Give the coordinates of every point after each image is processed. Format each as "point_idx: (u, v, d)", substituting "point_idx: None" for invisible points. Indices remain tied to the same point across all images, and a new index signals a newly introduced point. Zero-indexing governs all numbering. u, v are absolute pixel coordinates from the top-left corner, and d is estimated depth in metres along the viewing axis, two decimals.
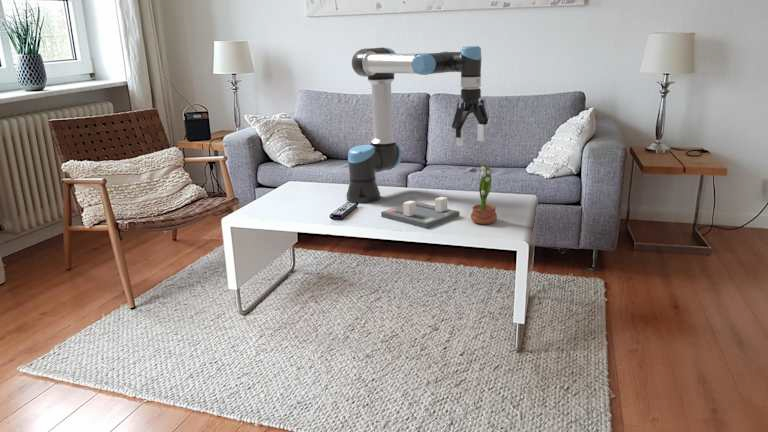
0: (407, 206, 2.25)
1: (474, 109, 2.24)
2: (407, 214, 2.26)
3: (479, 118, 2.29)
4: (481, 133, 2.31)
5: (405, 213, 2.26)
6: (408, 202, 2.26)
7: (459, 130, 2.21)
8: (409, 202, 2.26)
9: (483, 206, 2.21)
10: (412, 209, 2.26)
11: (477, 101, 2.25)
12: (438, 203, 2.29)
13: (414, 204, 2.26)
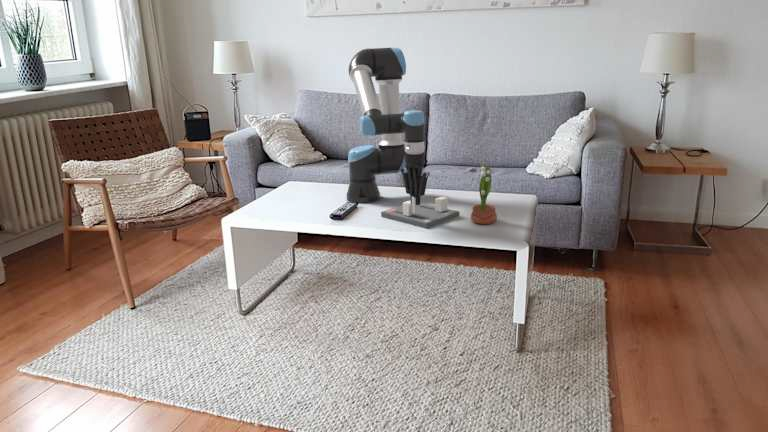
0: (406, 206, 2.25)
1: None
2: (406, 214, 2.26)
3: None
4: None
5: (404, 213, 2.27)
6: (407, 202, 2.26)
7: (411, 196, 2.24)
8: (408, 202, 2.26)
9: (483, 206, 2.21)
10: (411, 208, 2.26)
11: (419, 167, 2.17)
12: (438, 203, 2.29)
13: None
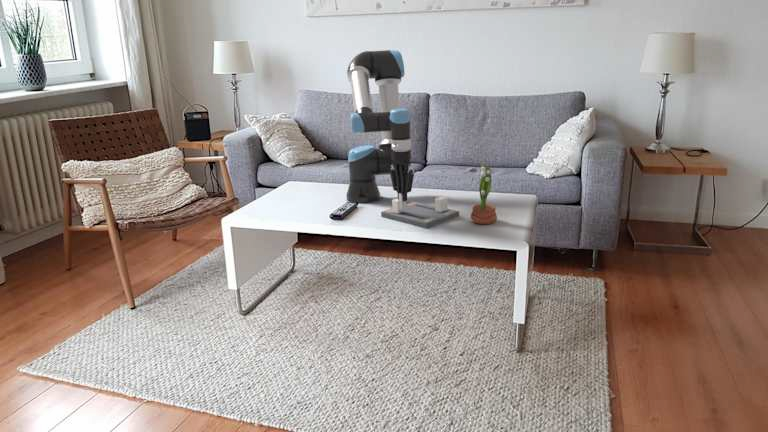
0: (395, 203, 2.29)
1: None
2: (396, 211, 2.30)
3: None
4: None
5: (394, 210, 2.31)
6: (397, 199, 2.30)
7: (398, 193, 2.29)
8: None
9: (483, 206, 2.21)
10: None
11: (405, 164, 2.22)
12: (438, 203, 2.29)
13: None
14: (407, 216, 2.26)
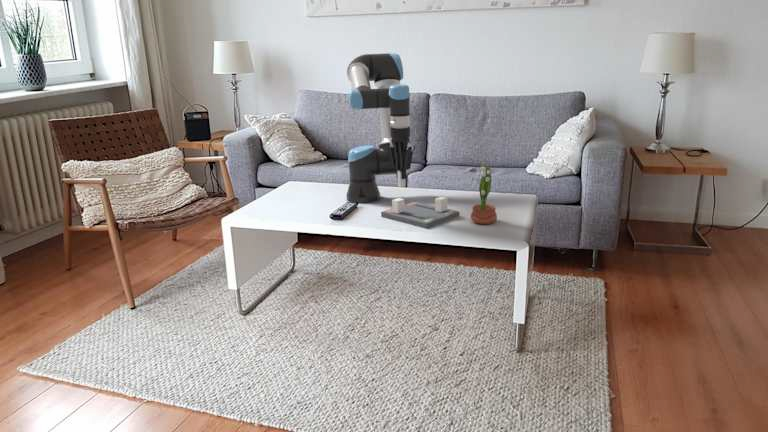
0: (395, 203, 2.29)
1: None
2: (396, 211, 2.30)
3: None
4: None
5: (394, 210, 2.31)
6: (397, 199, 2.30)
7: None
8: (398, 199, 2.30)
9: (483, 206, 2.21)
10: (400, 206, 2.30)
11: (404, 141, 2.19)
12: (438, 203, 2.29)
13: (403, 201, 2.30)
14: (407, 216, 2.26)
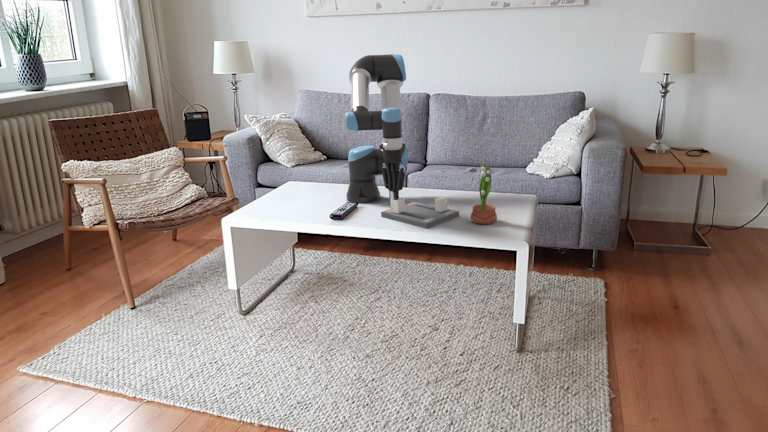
0: (396, 203, 2.29)
1: None
2: (396, 211, 2.30)
3: None
4: None
5: (394, 210, 2.30)
6: (397, 199, 2.30)
7: None
8: (398, 199, 2.30)
9: (483, 206, 2.21)
10: (401, 206, 2.30)
11: (396, 162, 2.24)
12: (438, 203, 2.29)
13: (403, 201, 2.30)
14: (407, 216, 2.26)
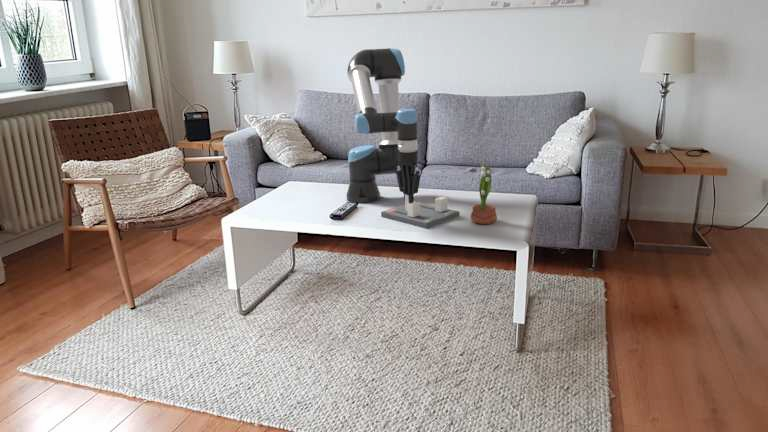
0: (411, 207, 2.23)
1: None
2: (411, 215, 2.24)
3: None
4: None
5: (409, 214, 2.25)
6: (412, 203, 2.25)
7: (404, 194, 2.26)
8: (413, 203, 2.24)
9: (483, 206, 2.21)
10: (416, 209, 2.24)
11: (412, 165, 2.19)
12: (438, 203, 2.29)
13: (418, 205, 2.25)
14: (407, 216, 2.26)
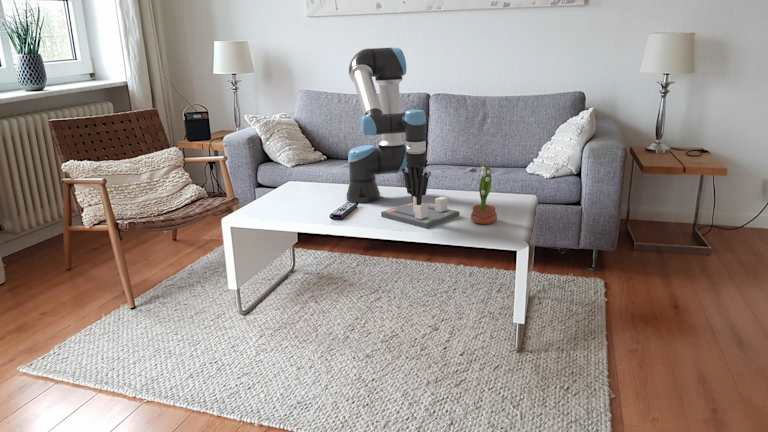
0: (418, 209, 2.21)
1: None
2: (419, 217, 2.22)
3: None
4: None
5: (417, 216, 2.22)
6: (420, 205, 2.22)
7: (412, 196, 2.23)
8: (421, 205, 2.22)
9: (483, 206, 2.21)
10: (423, 211, 2.22)
11: (420, 167, 2.16)
12: (438, 203, 2.29)
13: (426, 207, 2.22)
14: (407, 216, 2.26)
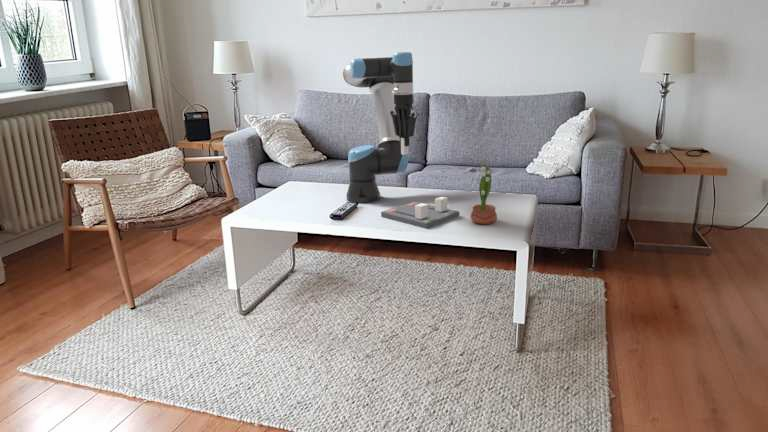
0: (419, 209, 2.21)
1: None
2: (419, 217, 2.22)
3: None
4: None
5: (417, 216, 2.22)
6: (420, 205, 2.22)
7: (400, 138, 2.30)
8: (421, 205, 2.22)
9: (483, 206, 2.21)
10: (424, 211, 2.22)
11: (407, 108, 2.23)
12: (438, 203, 2.29)
13: (426, 207, 2.22)
14: (407, 216, 2.26)
